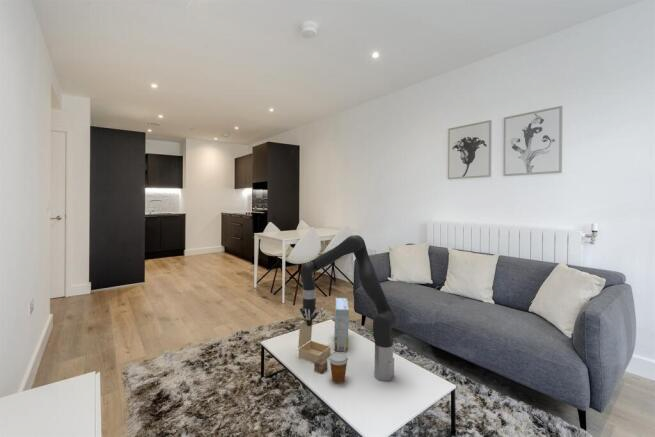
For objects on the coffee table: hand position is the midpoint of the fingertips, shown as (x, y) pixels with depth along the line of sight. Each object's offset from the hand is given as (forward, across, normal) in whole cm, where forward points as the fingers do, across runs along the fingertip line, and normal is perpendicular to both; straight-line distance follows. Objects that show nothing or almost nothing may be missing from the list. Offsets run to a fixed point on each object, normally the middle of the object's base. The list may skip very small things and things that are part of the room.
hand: (309, 325), depth 177 cm
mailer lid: (+5, +3, 0) cm, 5 cm away
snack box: (+18, -9, -22) cm, 29 cm away
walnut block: (+17, -15, +10) cm, 25 cm away
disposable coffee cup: (+17, -27, +12) cm, 34 cm away
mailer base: (+17, -4, 0) cm, 18 cm away
